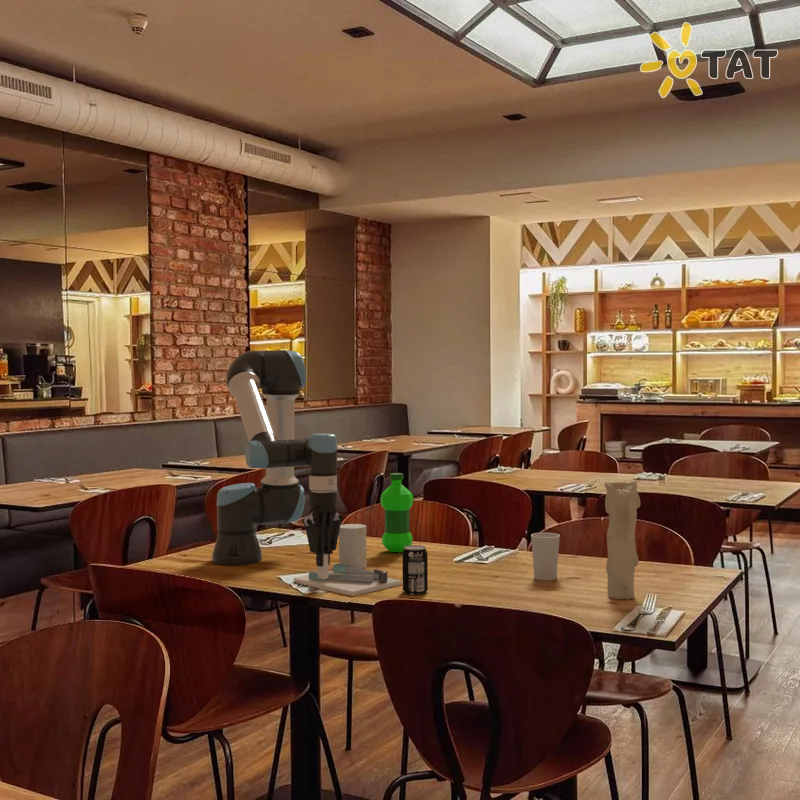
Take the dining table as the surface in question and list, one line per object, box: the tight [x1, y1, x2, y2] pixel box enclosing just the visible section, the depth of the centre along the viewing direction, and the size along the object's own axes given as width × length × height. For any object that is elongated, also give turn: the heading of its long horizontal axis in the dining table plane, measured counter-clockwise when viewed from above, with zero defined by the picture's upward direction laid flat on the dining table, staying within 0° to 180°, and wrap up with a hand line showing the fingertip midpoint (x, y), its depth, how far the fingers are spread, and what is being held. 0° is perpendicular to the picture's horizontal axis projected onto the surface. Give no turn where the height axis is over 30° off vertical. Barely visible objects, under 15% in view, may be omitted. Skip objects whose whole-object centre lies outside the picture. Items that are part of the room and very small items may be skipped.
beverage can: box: [401, 544, 429, 596], centre depth 258 cm, size 7×7×12 cm
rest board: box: [293, 569, 402, 597], centre depth 269 cm, size 24×18×1 cm
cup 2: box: [530, 532, 561, 581], centre depth 274 cm, size 8×8×12 cm
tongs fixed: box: [332, 563, 389, 583], centre depth 272 cm, size 22×4×4 cm, turn 46°
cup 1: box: [338, 523, 368, 569], centre depth 292 cm, size 8×8×12 cm
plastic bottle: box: [379, 472, 414, 553], centre depth 314 cm, size 10×10×25 cm
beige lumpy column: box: [604, 479, 641, 600], centre depth 249 cm, size 9×8×30 cm
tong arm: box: [308, 571, 374, 583], centre depth 267 cm, size 18×2×2 cm, turn 74°
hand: (323, 577), depth 265 cm, fingers closed
